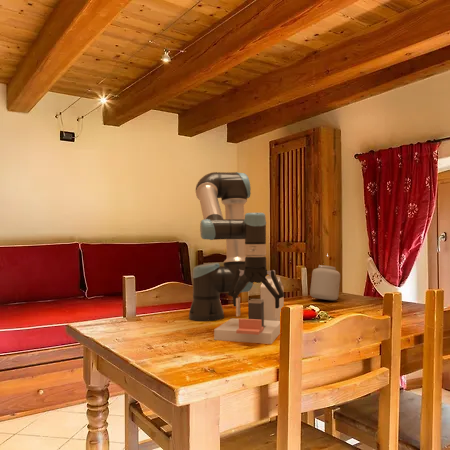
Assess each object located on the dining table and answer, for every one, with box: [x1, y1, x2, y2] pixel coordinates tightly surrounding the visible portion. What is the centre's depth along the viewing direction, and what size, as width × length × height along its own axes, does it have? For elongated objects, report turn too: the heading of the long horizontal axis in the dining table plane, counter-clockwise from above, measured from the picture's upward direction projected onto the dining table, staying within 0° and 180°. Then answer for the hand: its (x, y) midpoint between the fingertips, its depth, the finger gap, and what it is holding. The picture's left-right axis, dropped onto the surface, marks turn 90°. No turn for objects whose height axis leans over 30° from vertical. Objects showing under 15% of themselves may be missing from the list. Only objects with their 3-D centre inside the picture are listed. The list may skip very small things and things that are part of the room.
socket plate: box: [213, 318, 281, 345], centre depth 154 cm, size 20×20×4 cm
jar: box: [309, 254, 341, 301], centre depth 229 cm, size 19×15×25 cm
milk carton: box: [259, 275, 285, 321], centre depth 173 cm, size 7×7×19 cm
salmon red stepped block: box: [236, 317, 264, 335], centre depth 143 cm, size 8×8×4 cm
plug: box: [247, 298, 264, 327], centre depth 151 cm, size 4×4×13 cm
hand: (256, 316), depth 151 cm, fingers open, 13 cm apart
